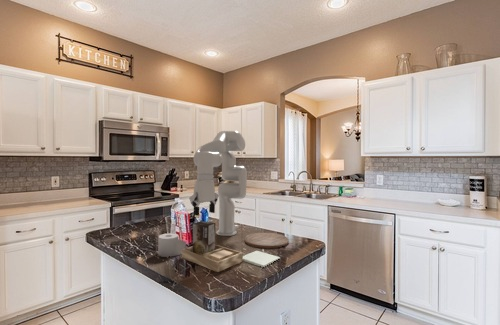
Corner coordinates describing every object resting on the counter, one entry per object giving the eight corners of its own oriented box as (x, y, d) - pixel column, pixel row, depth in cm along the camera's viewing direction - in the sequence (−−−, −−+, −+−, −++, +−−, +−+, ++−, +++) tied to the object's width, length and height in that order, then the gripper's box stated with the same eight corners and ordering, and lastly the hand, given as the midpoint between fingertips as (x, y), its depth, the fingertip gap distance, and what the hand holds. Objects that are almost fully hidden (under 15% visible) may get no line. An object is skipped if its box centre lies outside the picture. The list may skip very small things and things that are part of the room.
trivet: (295, 240, 158) (295, 237, 158) (275, 252, 137) (275, 248, 137) (259, 233, 172) (259, 230, 172) (236, 243, 151) (236, 239, 151)
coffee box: (215, 256, 130) (216, 222, 130) (208, 260, 124) (208, 225, 124) (200, 253, 134) (200, 220, 133) (192, 257, 128) (192, 223, 128)
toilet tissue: (188, 253, 133) (188, 236, 133) (160, 258, 126) (160, 239, 126) (182, 248, 141) (183, 231, 141) (156, 252, 134) (156, 234, 134)
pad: (256, 252, 136) (256, 250, 136) (280, 259, 127) (280, 257, 127) (239, 259, 126) (239, 257, 126) (263, 267, 117) (263, 265, 117)
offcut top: (223, 255, 127) (223, 249, 127) (233, 258, 123) (233, 252, 123) (209, 260, 120) (209, 254, 120) (219, 264, 116) (219, 258, 116)
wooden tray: (207, 249, 139) (207, 241, 139) (242, 261, 124) (242, 252, 124) (181, 257, 127) (182, 249, 127) (217, 272, 112) (217, 262, 112)
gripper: (213, 176, 137) (212, 210, 137) (185, 177, 124) (184, 215, 124) (223, 177, 132) (222, 212, 132) (195, 178, 119) (195, 217, 119)
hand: (204, 213), depth 128 cm, fingers open, 9 cm apart
